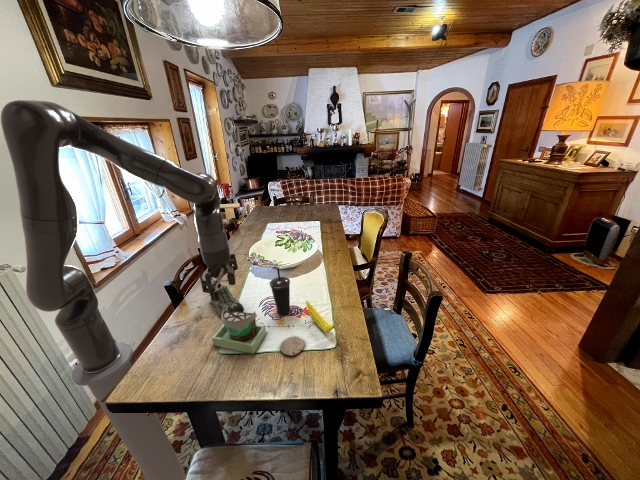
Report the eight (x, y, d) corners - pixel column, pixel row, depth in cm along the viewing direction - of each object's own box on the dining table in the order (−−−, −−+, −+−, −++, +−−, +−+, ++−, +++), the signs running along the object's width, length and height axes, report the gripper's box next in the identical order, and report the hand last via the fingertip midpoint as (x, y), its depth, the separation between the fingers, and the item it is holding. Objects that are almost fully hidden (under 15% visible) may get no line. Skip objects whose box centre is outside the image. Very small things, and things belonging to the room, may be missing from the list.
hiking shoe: (229, 325, 94) (224, 305, 91) (204, 302, 108) (199, 283, 104) (249, 314, 100) (245, 294, 96) (222, 293, 113) (218, 275, 110)
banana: (310, 308, 101) (309, 295, 98) (338, 339, 86) (337, 324, 84) (303, 311, 100) (302, 298, 97) (331, 342, 85) (330, 328, 82)
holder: (214, 345, 86) (211, 337, 84) (229, 326, 94) (227, 319, 92) (253, 353, 82) (252, 345, 81) (266, 333, 90) (265, 325, 89)
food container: (219, 343, 86) (212, 321, 82) (228, 330, 91) (222, 308, 87) (253, 347, 84) (248, 324, 80) (260, 333, 89) (256, 311, 85)
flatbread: (286, 360, 79) (286, 358, 79) (276, 344, 85) (276, 342, 85) (309, 348, 83) (308, 346, 82) (298, 334, 89) (298, 332, 88)
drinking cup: (276, 320, 96) (269, 275, 88) (272, 308, 103) (265, 265, 94) (295, 314, 99) (290, 270, 90) (290, 302, 105) (285, 260, 97)
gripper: (209, 258, 65) (221, 308, 72) (239, 236, 78) (247, 281, 84) (185, 255, 67) (199, 304, 74) (218, 234, 79) (227, 278, 86)
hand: (224, 292), depth 79 cm, fingers open, 8 cm apart
